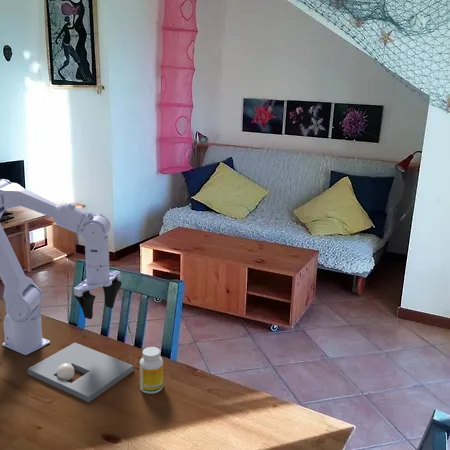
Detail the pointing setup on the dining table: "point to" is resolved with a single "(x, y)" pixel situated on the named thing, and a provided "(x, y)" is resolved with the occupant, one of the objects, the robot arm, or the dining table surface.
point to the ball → (65, 371)
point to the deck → (82, 371)
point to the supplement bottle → (151, 370)
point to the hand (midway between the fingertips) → (99, 312)
